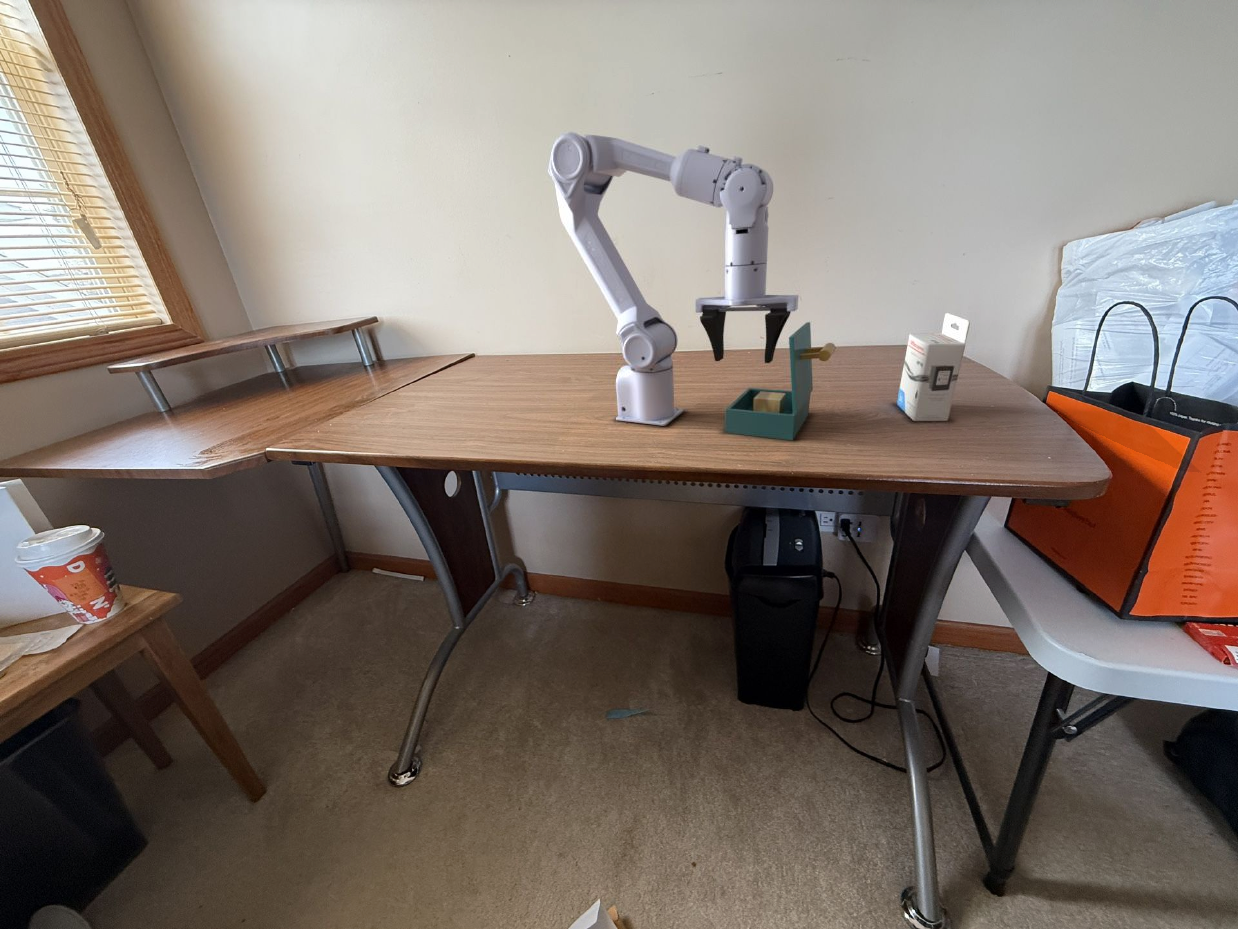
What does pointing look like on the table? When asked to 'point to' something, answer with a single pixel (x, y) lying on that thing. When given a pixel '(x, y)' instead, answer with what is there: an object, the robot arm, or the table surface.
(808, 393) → the chest lid
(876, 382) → the table surface
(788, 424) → the chest
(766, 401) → the block
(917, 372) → the ink box
